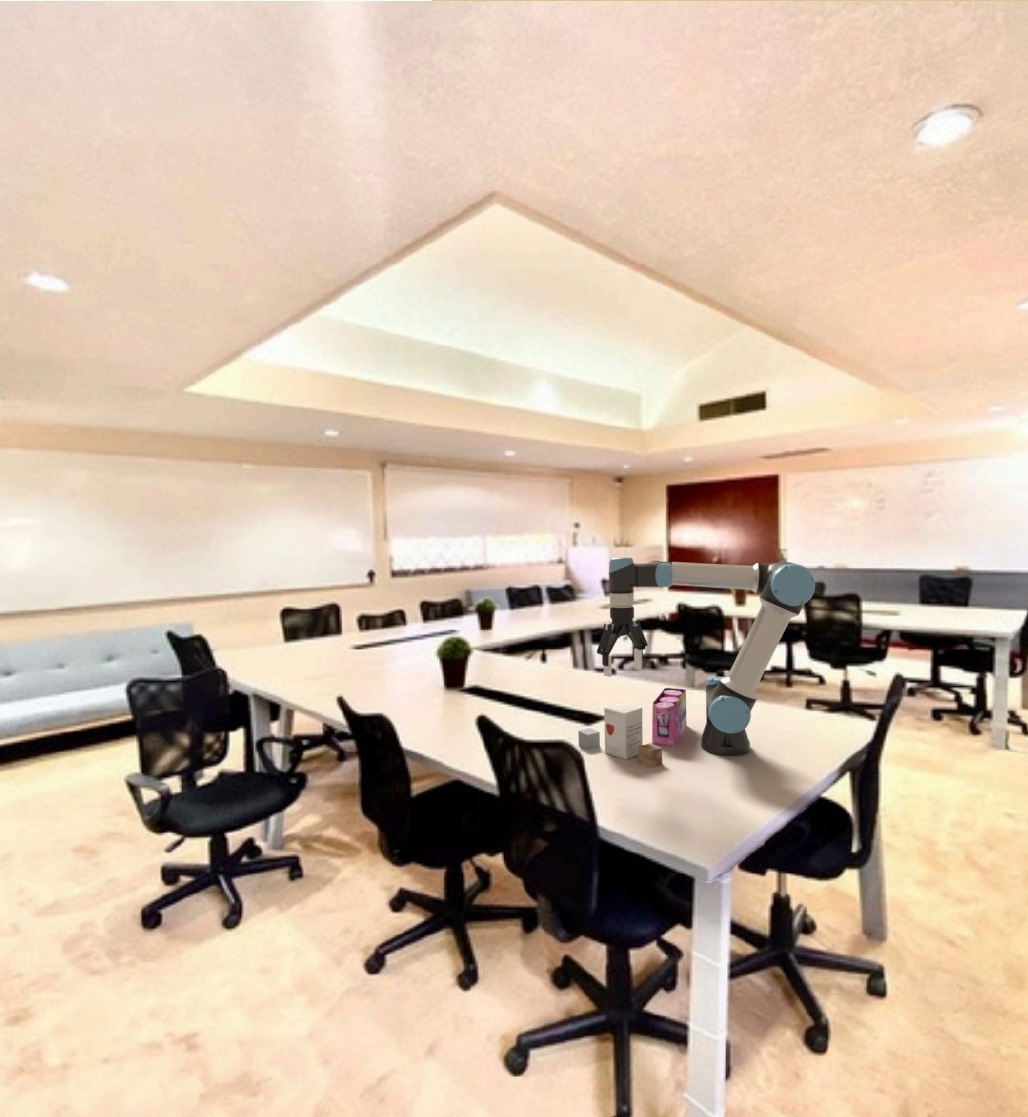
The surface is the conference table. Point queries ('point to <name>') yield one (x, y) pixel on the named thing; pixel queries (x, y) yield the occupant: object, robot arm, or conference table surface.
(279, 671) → the conference table surface
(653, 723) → the gum box
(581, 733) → the slate block
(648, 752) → the walnut block
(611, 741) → the supplement box
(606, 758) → the conference table surface
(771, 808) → the conference table surface
